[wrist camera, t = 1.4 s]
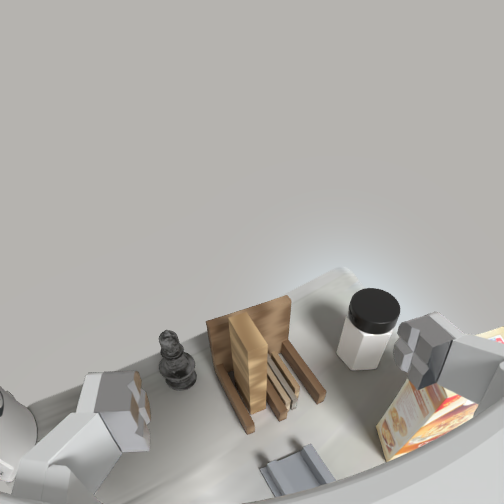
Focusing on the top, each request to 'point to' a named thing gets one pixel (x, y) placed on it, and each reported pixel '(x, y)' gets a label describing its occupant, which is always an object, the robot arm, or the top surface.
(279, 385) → the offcut boards
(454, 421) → the coffeecake box
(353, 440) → the top surface
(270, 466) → the slate holder
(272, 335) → the walnut rack
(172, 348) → the salt shaker
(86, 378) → the robot arm
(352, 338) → the jar
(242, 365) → the wooden block
